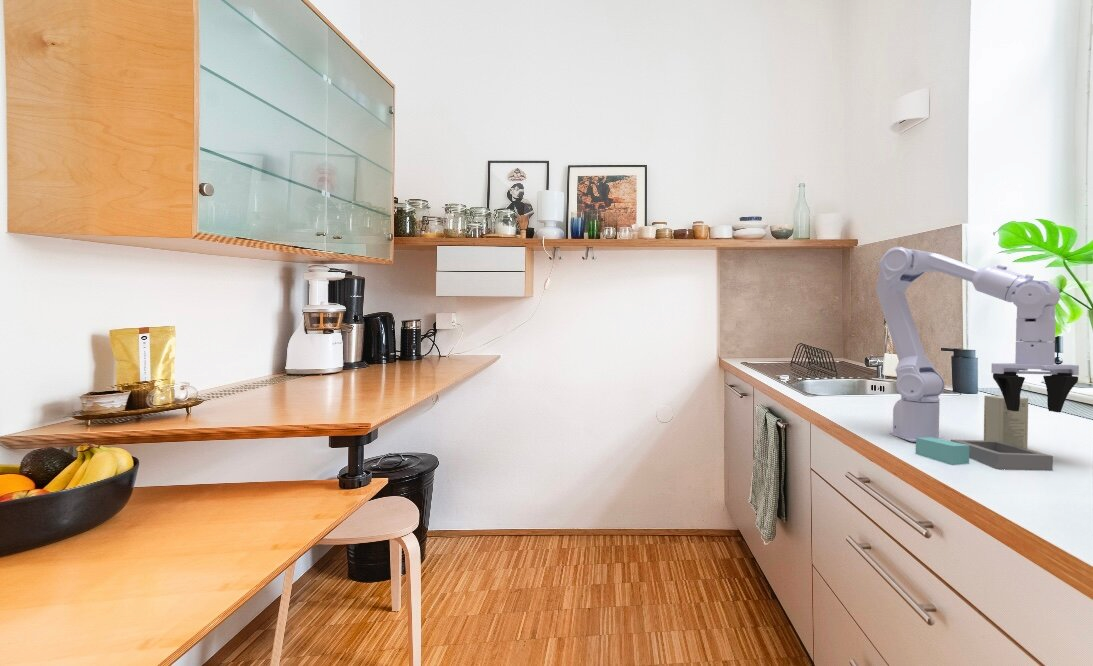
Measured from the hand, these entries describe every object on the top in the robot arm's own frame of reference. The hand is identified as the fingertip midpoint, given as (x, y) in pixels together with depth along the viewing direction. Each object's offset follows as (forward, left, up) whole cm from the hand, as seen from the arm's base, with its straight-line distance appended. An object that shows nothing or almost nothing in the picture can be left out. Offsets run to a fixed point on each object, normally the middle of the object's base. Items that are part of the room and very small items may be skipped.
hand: (1033, 411), depth 106 cm
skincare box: (-10, +2, -11) cm, 15 cm away
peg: (-1, -17, -11) cm, 20 cm away
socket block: (-1, -6, -10) cm, 12 cm away
